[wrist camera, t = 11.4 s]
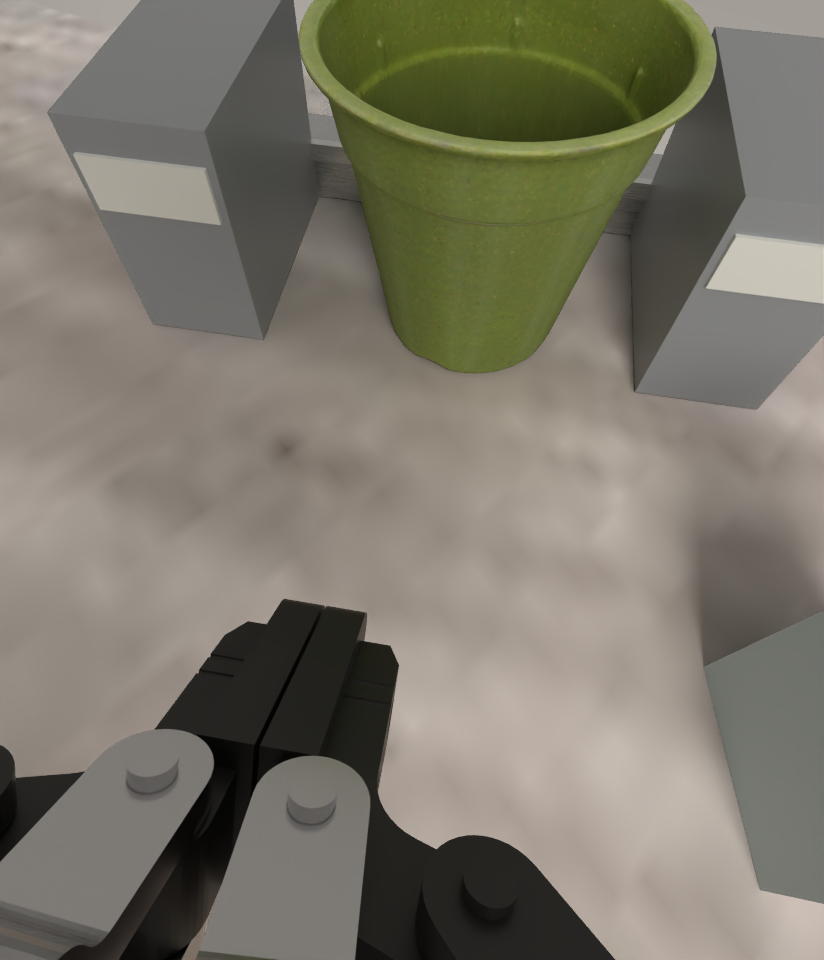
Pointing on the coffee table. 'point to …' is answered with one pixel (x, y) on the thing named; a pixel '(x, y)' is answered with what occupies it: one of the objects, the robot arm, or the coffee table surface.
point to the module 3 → (777, 752)
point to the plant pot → (497, 148)
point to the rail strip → (341, 184)
